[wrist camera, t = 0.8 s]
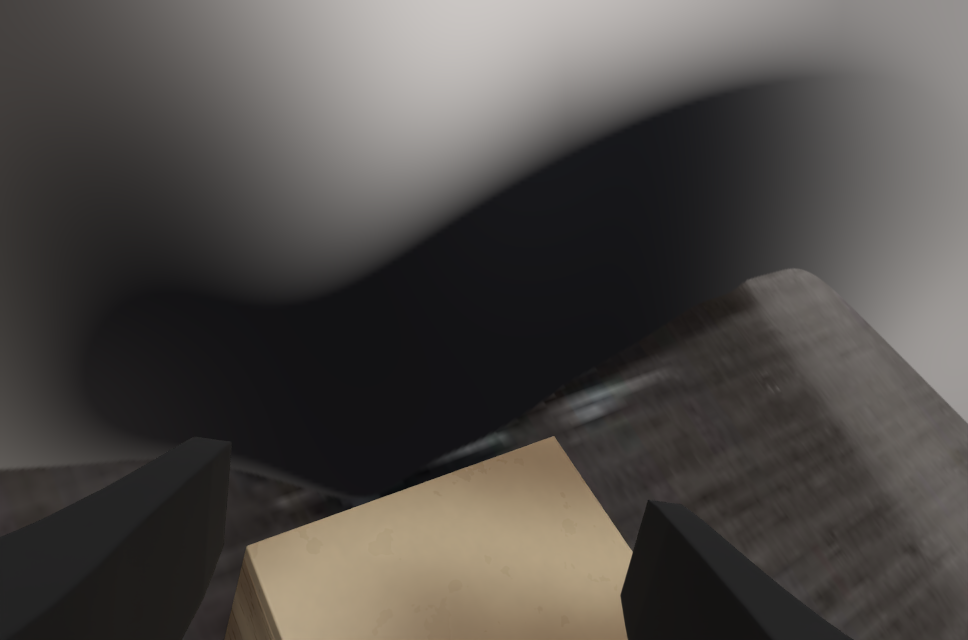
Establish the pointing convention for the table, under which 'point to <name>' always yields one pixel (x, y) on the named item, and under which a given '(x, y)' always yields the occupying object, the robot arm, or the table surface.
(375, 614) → the cabinet
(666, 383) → the table surface
